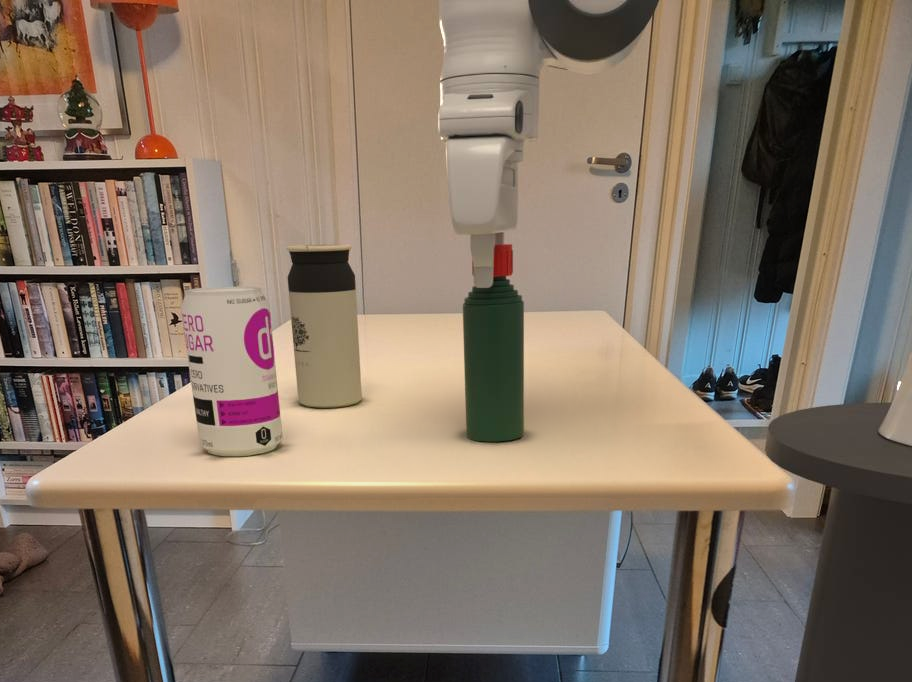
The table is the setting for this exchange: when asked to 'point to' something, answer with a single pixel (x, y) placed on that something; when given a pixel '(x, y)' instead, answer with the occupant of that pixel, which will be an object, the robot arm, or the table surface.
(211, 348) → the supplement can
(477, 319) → the bottle
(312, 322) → the travel mug
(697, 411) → the table surface
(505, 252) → the cap
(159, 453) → the table surface
